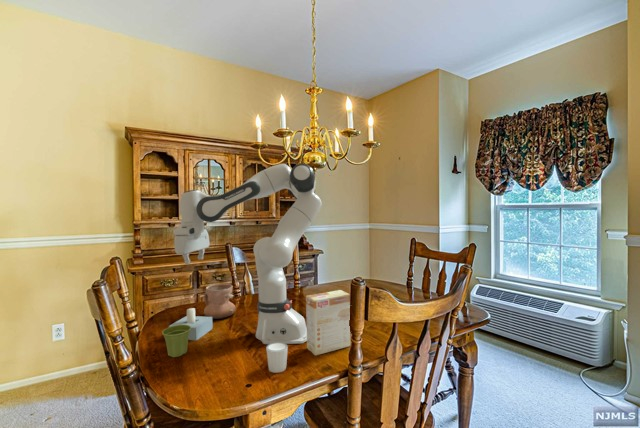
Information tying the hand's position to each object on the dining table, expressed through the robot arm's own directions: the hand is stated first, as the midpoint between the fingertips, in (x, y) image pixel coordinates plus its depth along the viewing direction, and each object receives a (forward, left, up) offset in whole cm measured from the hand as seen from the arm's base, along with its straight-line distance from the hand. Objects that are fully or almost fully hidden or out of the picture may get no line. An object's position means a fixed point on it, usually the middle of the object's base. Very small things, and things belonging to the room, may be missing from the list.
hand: (194, 261), depth 132 cm
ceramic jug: (-1, -18, -29) cm, 34 cm away
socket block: (0, +3, -29) cm, 29 cm away
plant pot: (-5, +20, -29) cm, 36 cm away
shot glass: (-44, +24, -29) cm, 58 cm away
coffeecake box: (-58, +7, -29) cm, 65 cm away
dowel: (0, +3, -29) cm, 29 cm away
